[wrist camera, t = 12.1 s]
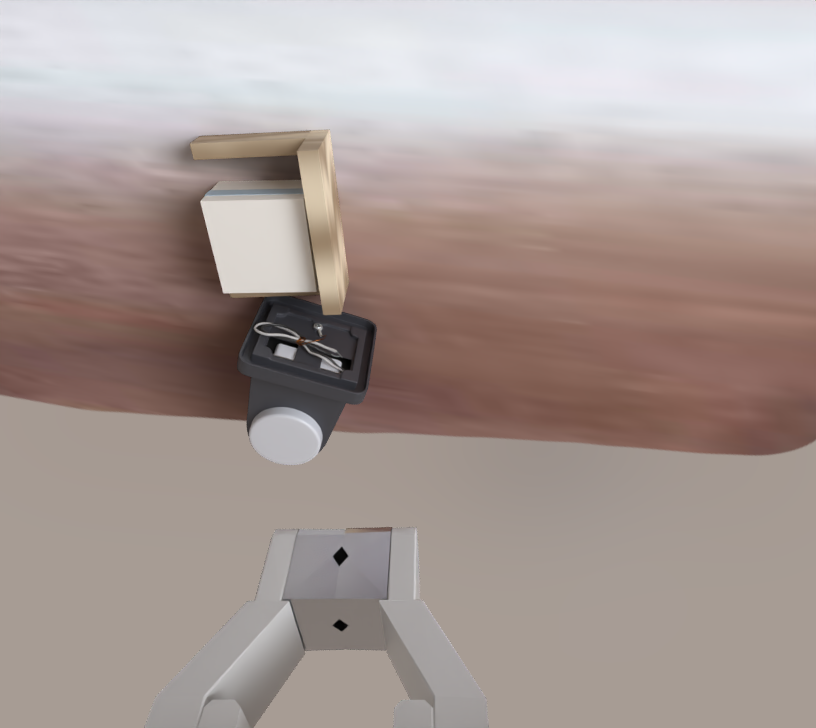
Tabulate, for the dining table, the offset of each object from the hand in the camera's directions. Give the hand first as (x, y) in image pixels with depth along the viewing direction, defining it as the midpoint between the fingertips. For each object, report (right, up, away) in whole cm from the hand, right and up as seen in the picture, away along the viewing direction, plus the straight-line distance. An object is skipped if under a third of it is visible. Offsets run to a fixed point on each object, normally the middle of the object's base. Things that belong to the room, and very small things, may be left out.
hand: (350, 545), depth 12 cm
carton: (-11, +16, +37) cm, 42 cm away
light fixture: (-9, +5, +45) cm, 46 cm away
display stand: (-11, +17, +36) cm, 41 cm away
